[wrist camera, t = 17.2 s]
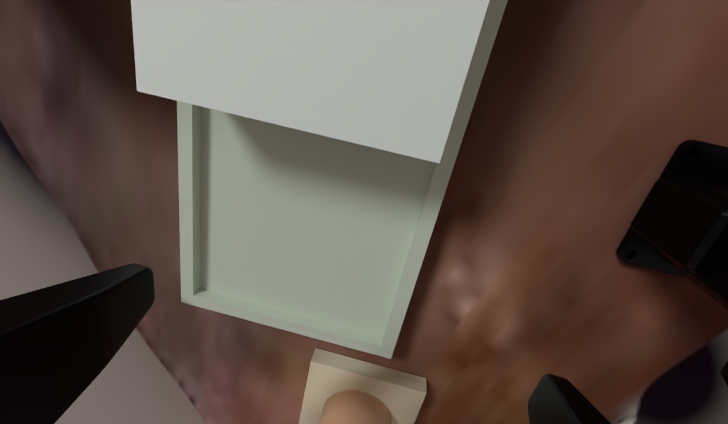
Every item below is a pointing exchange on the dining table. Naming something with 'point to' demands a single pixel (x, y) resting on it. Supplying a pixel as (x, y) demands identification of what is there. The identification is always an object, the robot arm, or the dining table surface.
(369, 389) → the birch coaster
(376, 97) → the frosted cover
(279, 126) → the propagator bed
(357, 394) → the round cabinet knob
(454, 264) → the dining table surface
